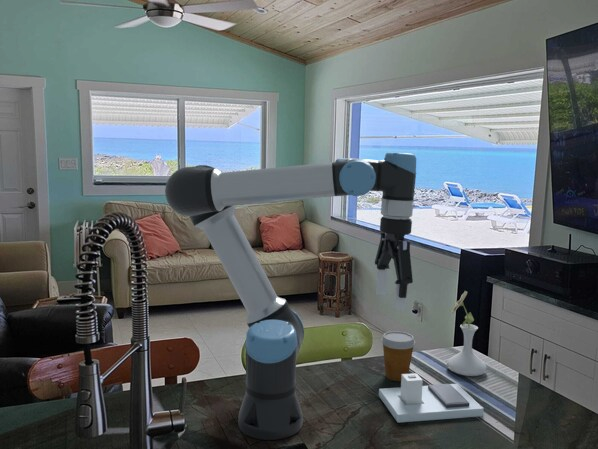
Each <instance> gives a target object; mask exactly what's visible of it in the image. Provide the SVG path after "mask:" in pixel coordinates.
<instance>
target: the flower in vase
mask: <svg viewBox="0 0 598 449" xmlns="http://www.w3.org/2000/svg"><path fill="white" fill-rule="evenodd" d="M467 295H468V291H466V290H464V292H463V293H462V294H461V296H460V299H459V300H457V301H456V302H455V304H456V305H455V306H453V308H452V309H451V311H450V313H451V314H454V313H455V312H456V311H457V309H458V308H459V307H463V309H464V311H465V314H466V315H465V316H464V319H465V320H464V321H463V322H462V324H460V326H459V327H460V328H461V330H462V334H463V348H462V350H461V351H459V352H458V353H456V354H455V355H453V356H451V357H450V358H448V359H447V362H446V366H447V369H449V370H450V371H451V372H453V373H455V374H458V375H461V376H465V377H466V376H468V377H476V376H481V375H484V374H485V373H486V372H487V370H488V368H487V367H488V366H487V365H486V363H485V362H484V361H483V360H482V359H481V358H480V357H478V356H477V355H476V354H475V353H474V352H473V340H474V335H475V332H476V331H477V330H478V329H479V327H478V326H477V325H475V324H472V323H473V322H474V321H475V318H474V316H473V314H472V312H471V311H470V312H468V311H467V309H466V307H465V304H464V301H465V298H466V297H467Z"/></svg>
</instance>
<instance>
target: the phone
mask: <svg viewBox="0 0 598 449" xmlns="http://www.w3.org/2000/svg"><path fill="white" fill-rule="evenodd" d="M450 384H451V383H441V384H439V383H438V384H437V383H436V384H428V385H427V386H428V389H429V390H430V391H431V392H432V393H433V394H434V395H435V396H436V397H437V398H438V399H439V401H440V402H441V403H442V404H443V405H444V406H445V407H446V408H453V407H467V406H469V402H468V401H467V400H466V399H465V398H464V397H463V396H462V395H461V394H460V393H459V392H458V391H457V390H456V389H454V388H453V387H452V386H451V385H450Z"/></svg>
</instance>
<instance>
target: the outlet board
mask: <svg viewBox="0 0 598 449" xmlns="http://www.w3.org/2000/svg"><path fill="white" fill-rule="evenodd" d="M449 384H450V385H451V386H452V387H453V388H454V389H456V390H457V391H458V392H459V393H460V394H461V395H462V396H463V397H464V398H465V399H466V400H467V401H468V402H469V406H467V407H453V408H446V407H445V406H444V405H443V404H442V403H441V402H440V401H439V399H438V398H437V397H436V396H435V395H434V394H433V393H432V392H431V391H430V390H429V389H428V385H422V403H421V404H413V405H404V403H403V402H402V401H401V399H400V398H401V386H400V387H389V388H388V387H387V388H379V389H378V397H379V399H380V400H381V402H383V403H384V404H383V405H384V406H385V408H387V409H388V411H389V412H390V414H391V415H392V417H393V419H395V421H396V422H397V423H409V422H422V421H424V422H425V421H435V420H447V419H448V420H449V419H450V420H452V419H463V418H476V417H483V416H484V409H485V408H484V407H483V406H482V404H480V403H478V402H477V401H476V400H475V399H474V398H473V397H472V396H471V395H470V394H469V393H468V392H467V391H466V390H465V389H464V388H462V387H461V386H460V385H459V384H458V383H449Z"/></svg>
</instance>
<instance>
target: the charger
mask: <svg viewBox="0 0 598 449" xmlns="http://www.w3.org/2000/svg"><path fill="white" fill-rule="evenodd" d="M423 383H424V381H423V379H422V378H421V376H420V375H419V374H418V373H409V374H402V376H401V381H400V387H401V398H400V399H401V401H402V402H403V403H404V405H413V404H421V403H422V386H423Z"/></svg>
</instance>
